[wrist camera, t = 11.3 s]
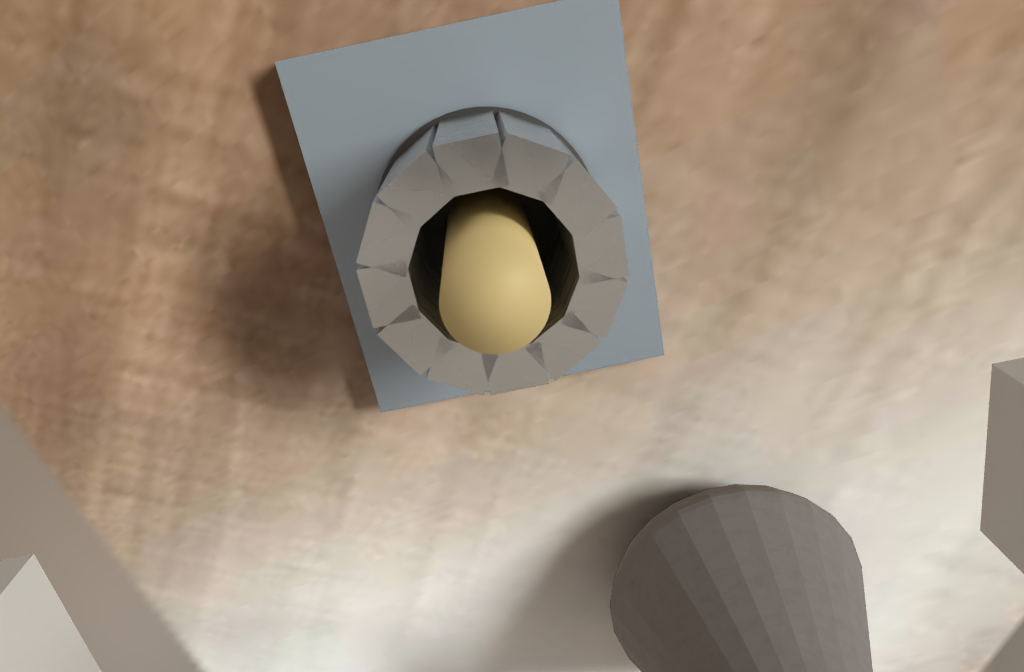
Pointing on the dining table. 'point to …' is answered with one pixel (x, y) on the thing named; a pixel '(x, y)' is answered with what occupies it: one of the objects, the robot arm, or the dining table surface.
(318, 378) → the dining table surface
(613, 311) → the ring
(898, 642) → the dining table surface
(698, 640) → the coffee pot
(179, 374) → the dining table surface
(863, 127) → the dining table surface
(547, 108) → the square base plate
